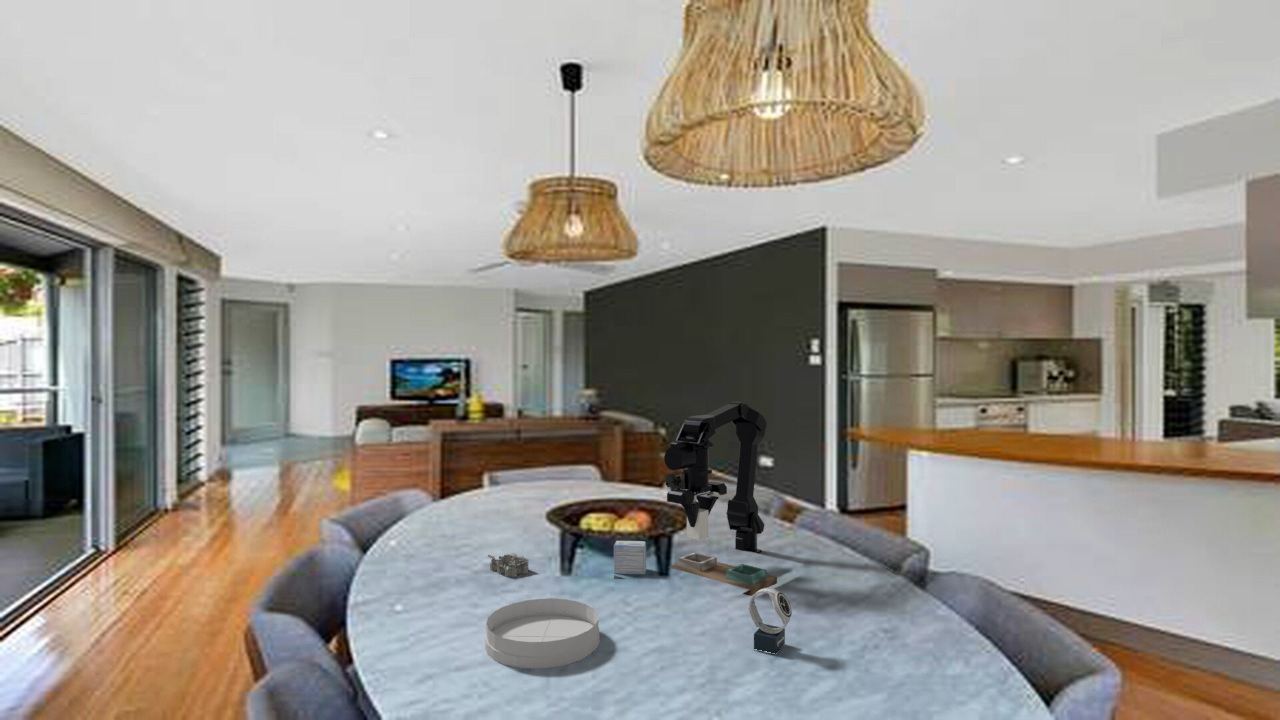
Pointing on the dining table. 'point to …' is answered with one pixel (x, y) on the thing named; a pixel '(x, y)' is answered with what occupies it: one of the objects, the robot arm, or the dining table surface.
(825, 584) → the dining table surface
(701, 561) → the socket board
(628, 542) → the medicine box
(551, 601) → the dish
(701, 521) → the plug
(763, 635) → the watch
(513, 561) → the toy castle
